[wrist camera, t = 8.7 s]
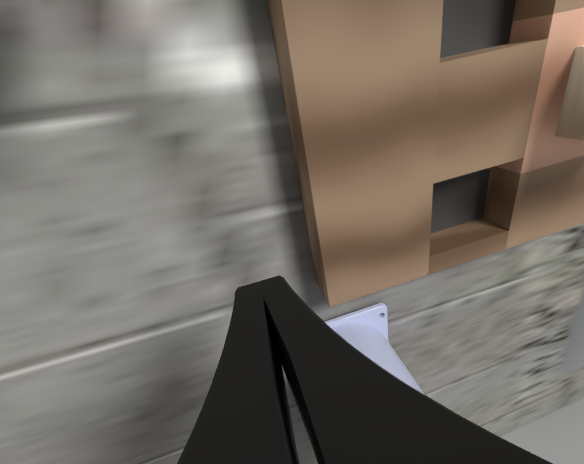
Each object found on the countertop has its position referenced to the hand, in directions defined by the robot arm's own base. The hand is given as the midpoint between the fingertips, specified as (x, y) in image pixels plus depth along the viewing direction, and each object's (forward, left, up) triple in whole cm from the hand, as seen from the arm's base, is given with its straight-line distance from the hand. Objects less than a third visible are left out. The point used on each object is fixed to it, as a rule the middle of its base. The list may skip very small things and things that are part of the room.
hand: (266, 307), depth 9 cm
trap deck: (+2, -15, -9) cm, 18 cm away
